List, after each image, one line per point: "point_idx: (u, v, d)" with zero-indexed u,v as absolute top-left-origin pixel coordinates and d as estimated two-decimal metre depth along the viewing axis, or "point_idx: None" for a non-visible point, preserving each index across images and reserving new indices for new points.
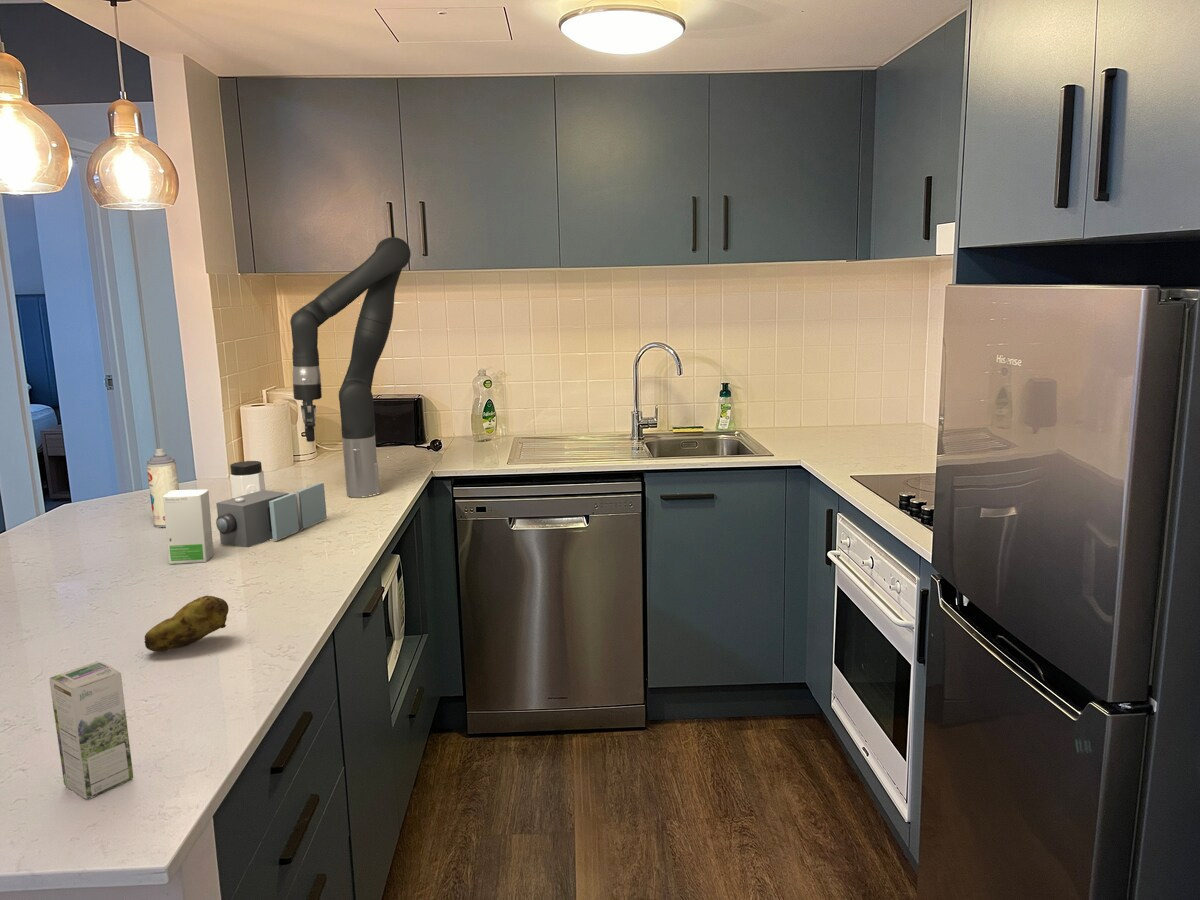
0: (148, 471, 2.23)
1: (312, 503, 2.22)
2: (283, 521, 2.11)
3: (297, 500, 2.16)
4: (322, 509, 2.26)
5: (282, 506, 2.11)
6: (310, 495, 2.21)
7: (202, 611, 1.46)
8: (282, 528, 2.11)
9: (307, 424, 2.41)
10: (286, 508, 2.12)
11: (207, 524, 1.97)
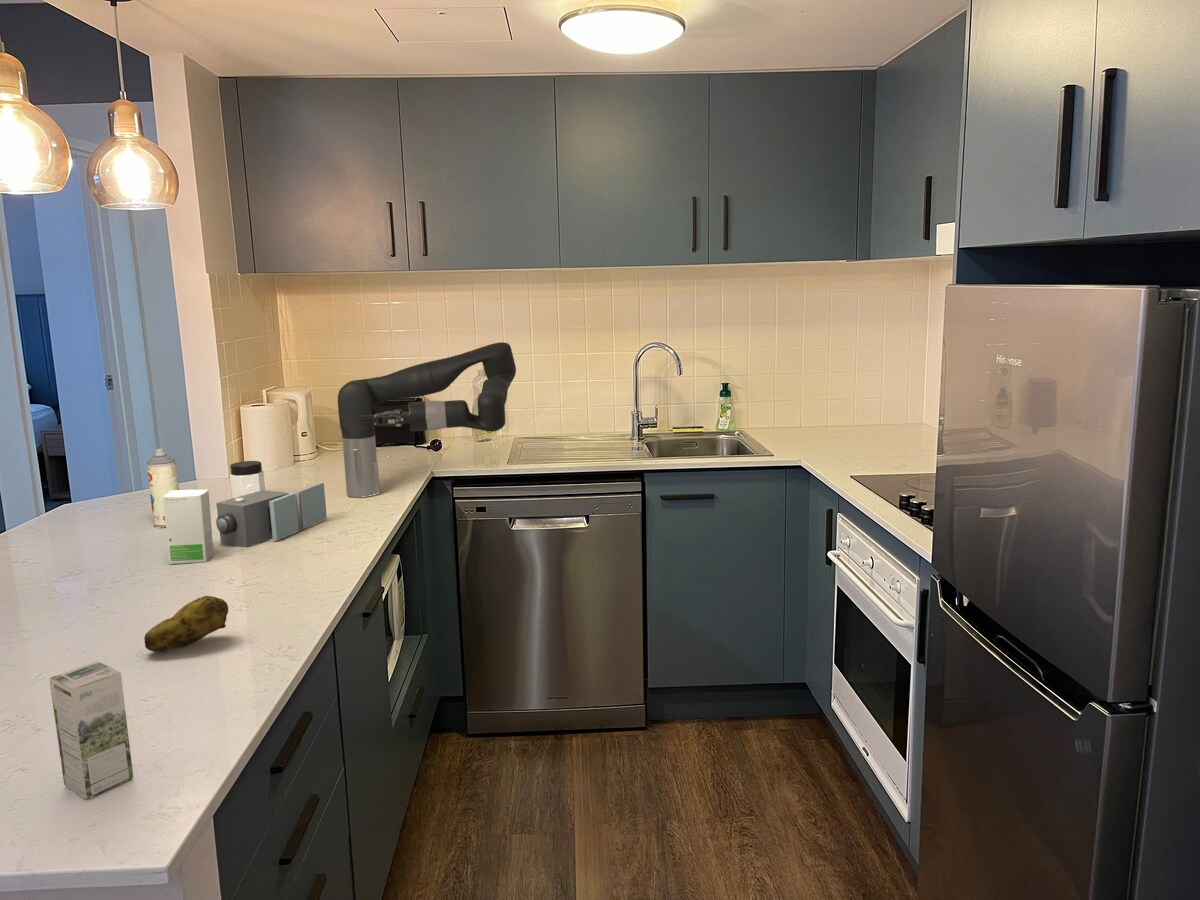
0: (148, 471, 2.23)
1: (312, 503, 2.22)
2: (283, 521, 2.11)
3: (297, 500, 2.16)
4: (322, 509, 2.26)
5: (282, 506, 2.11)
6: (310, 495, 2.21)
7: (202, 611, 1.46)
8: (282, 528, 2.11)
9: None
10: (286, 508, 2.12)
11: (207, 524, 1.97)
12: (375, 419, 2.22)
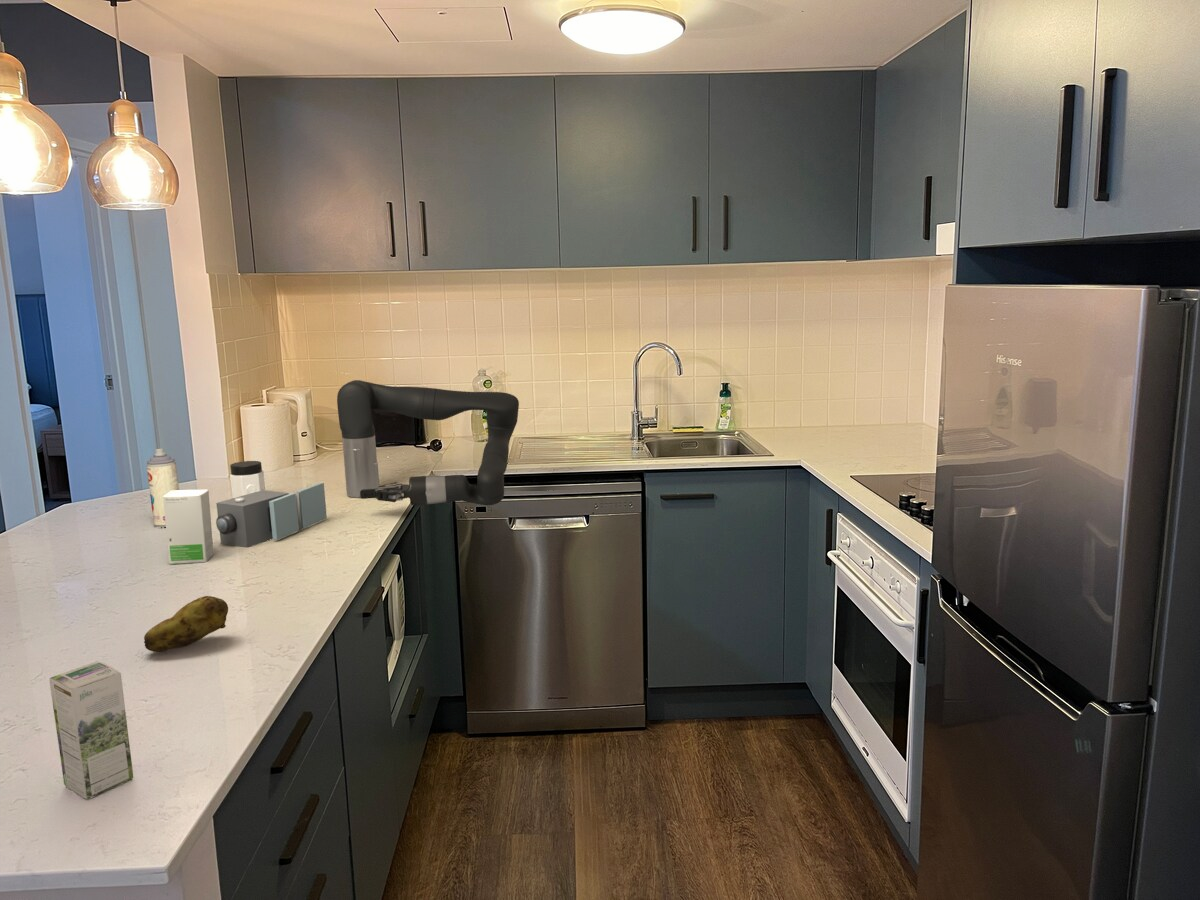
0: (148, 471, 2.23)
1: (312, 503, 2.22)
2: (283, 521, 2.11)
3: (297, 500, 2.16)
4: (322, 509, 2.26)
5: (282, 506, 2.11)
6: (310, 495, 2.21)
7: (202, 611, 1.46)
8: (282, 528, 2.11)
9: None
10: (286, 508, 2.12)
11: (207, 524, 1.97)
12: (376, 494, 2.26)
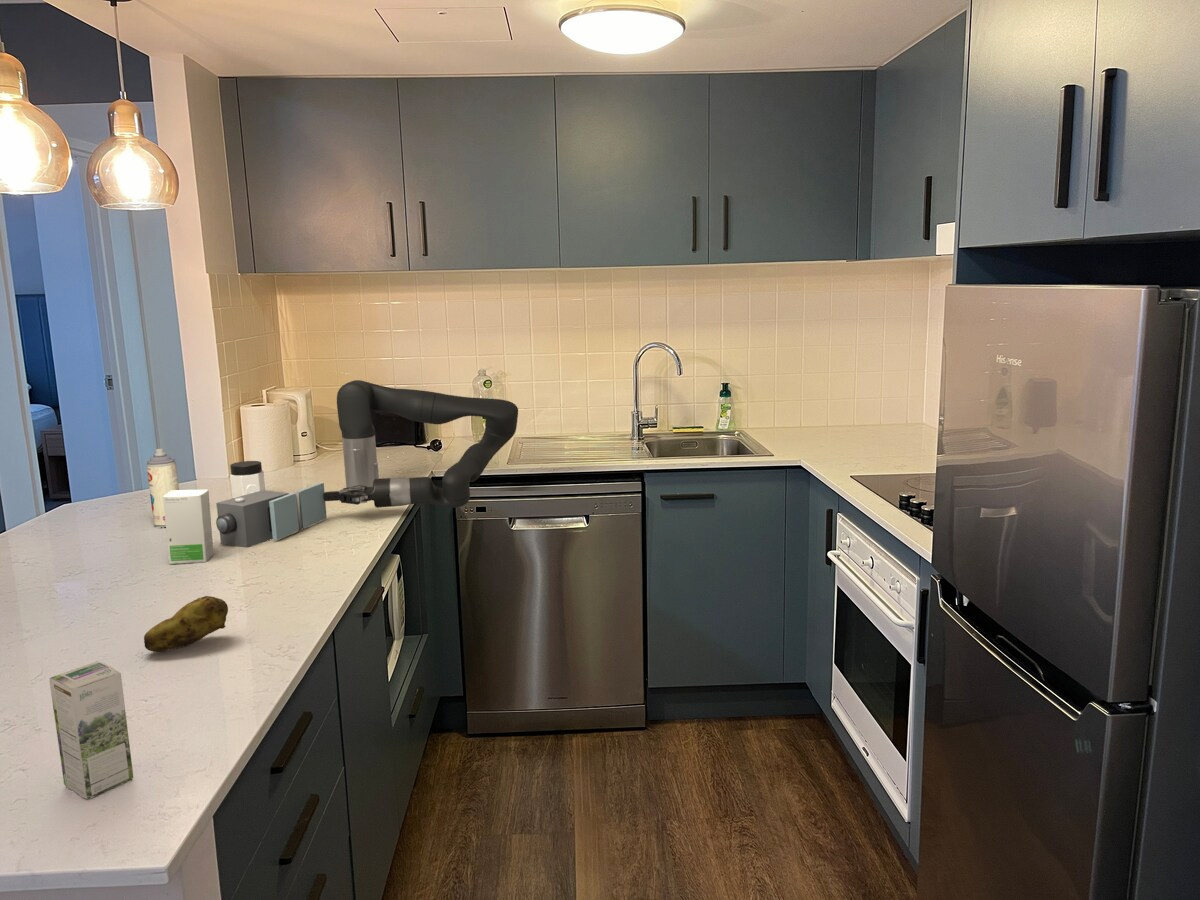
0: (148, 471, 2.23)
1: (312, 503, 2.22)
2: (283, 521, 2.11)
3: (297, 500, 2.16)
4: (322, 509, 2.26)
5: (282, 506, 2.11)
6: (310, 495, 2.21)
7: (201, 611, 1.46)
8: (282, 528, 2.11)
9: None
10: (286, 508, 2.12)
11: (207, 524, 1.97)
12: (340, 496, 2.25)
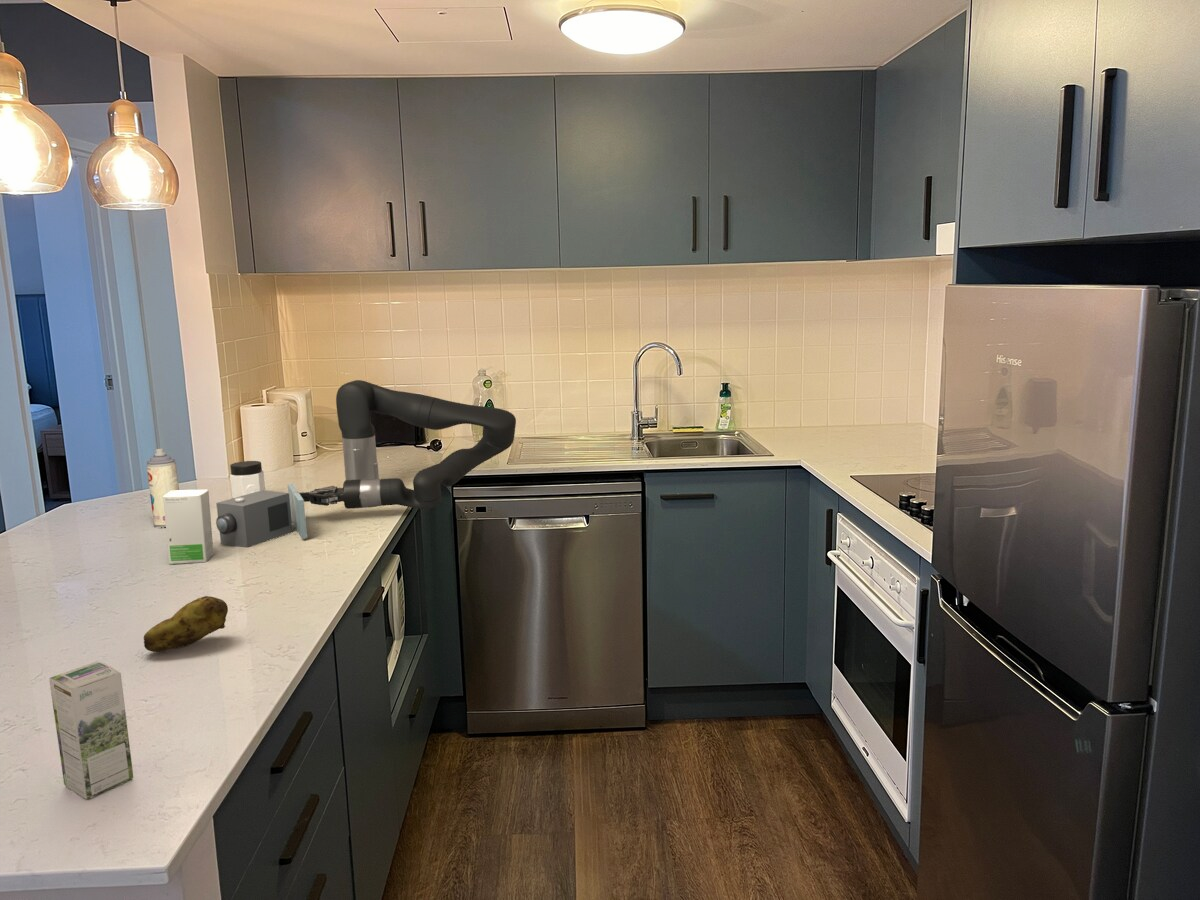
0: (148, 471, 2.23)
1: None
2: None
3: None
4: None
5: None
6: None
7: (201, 611, 1.46)
8: None
9: None
10: None
11: (207, 524, 1.97)
12: (310, 497, 2.25)
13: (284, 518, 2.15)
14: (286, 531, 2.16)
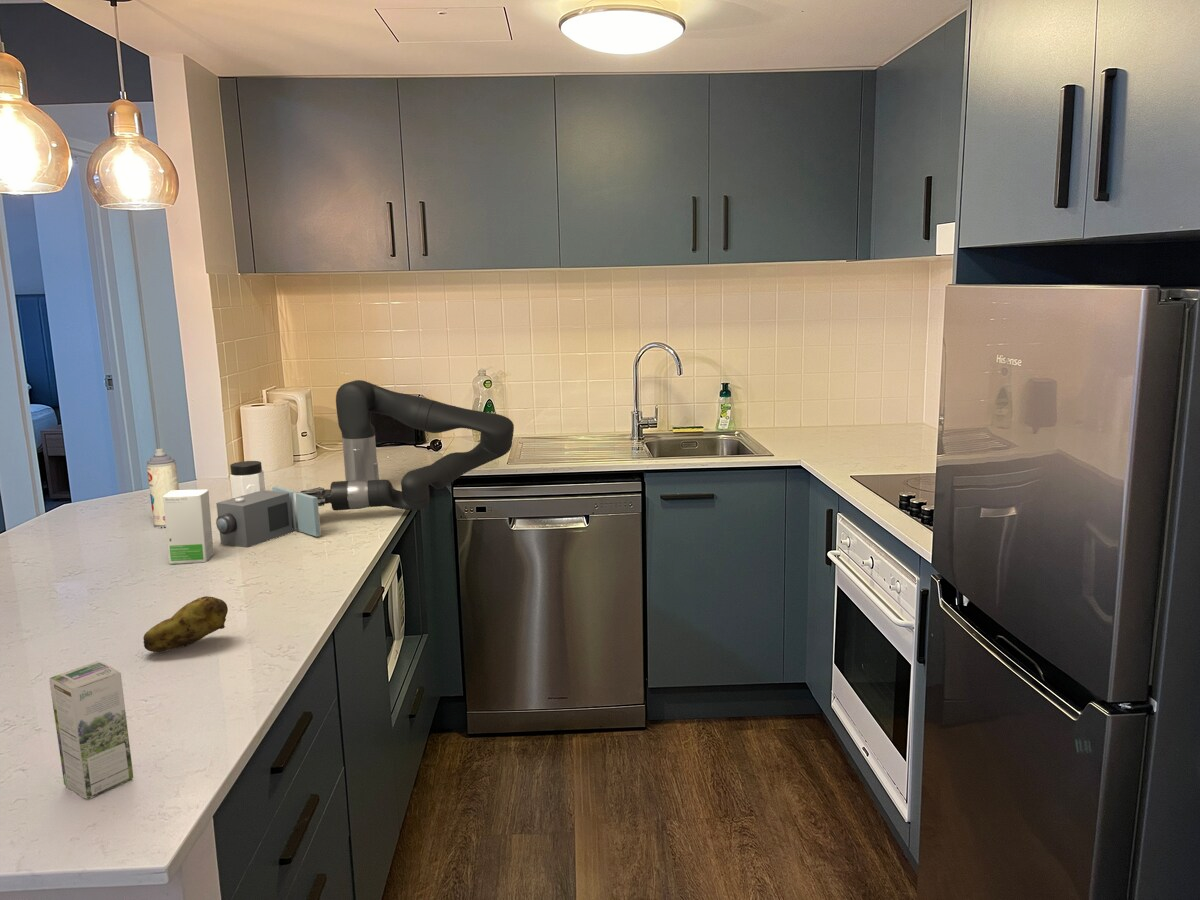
0: (148, 471, 2.23)
1: None
2: None
3: None
4: None
5: None
6: None
7: (201, 612, 1.46)
8: None
9: None
10: None
11: (207, 524, 1.97)
12: None
13: (284, 518, 2.15)
14: (286, 531, 2.16)
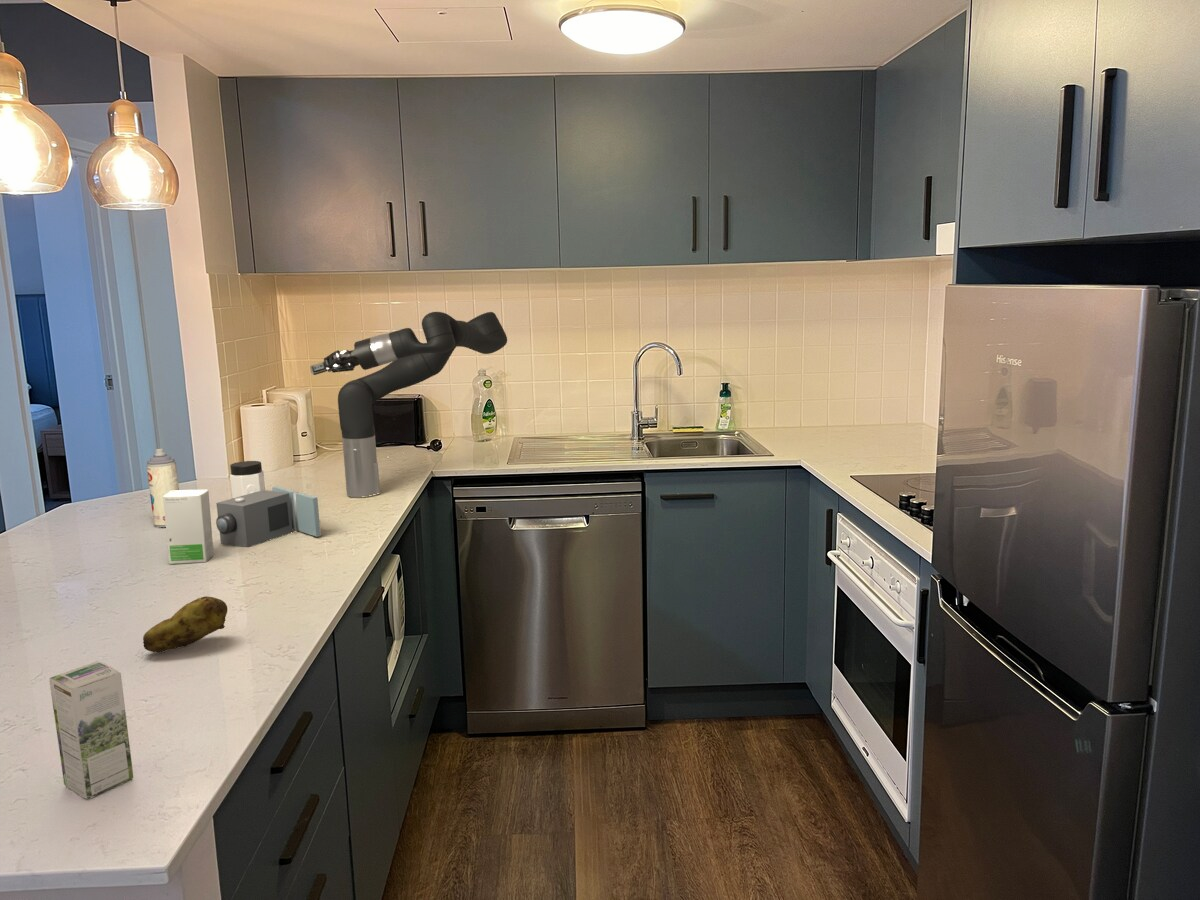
0: (148, 471, 2.23)
1: None
2: None
3: None
4: None
5: None
6: None
7: (201, 612, 1.46)
8: None
9: None
10: None
11: (207, 524, 1.97)
12: (324, 362, 2.22)
13: (284, 518, 2.15)
14: (286, 531, 2.16)
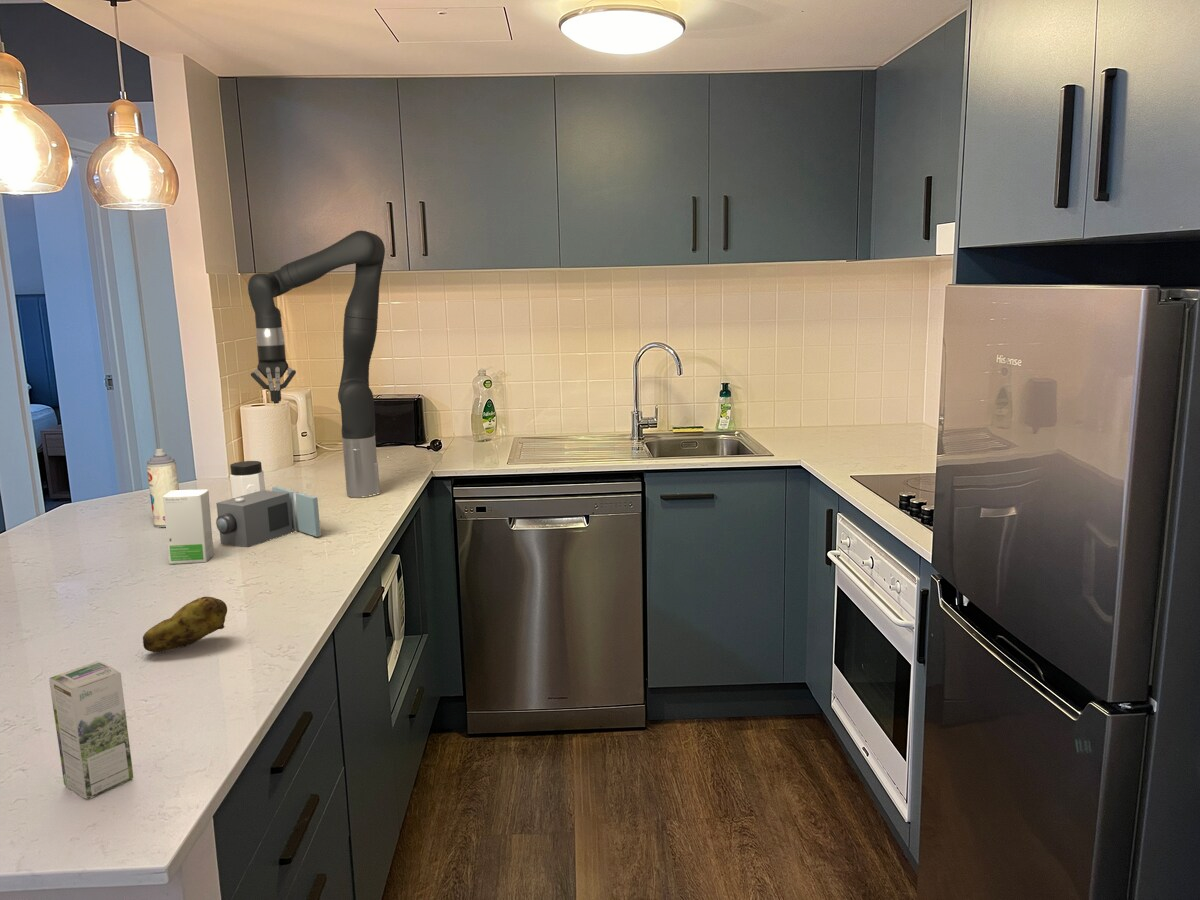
0: (147, 471, 2.23)
1: None
2: None
3: None
4: None
5: None
6: None
7: (200, 612, 1.46)
8: None
9: None
10: None
11: (207, 524, 1.97)
12: None
13: (284, 518, 2.15)
14: (286, 531, 2.16)
